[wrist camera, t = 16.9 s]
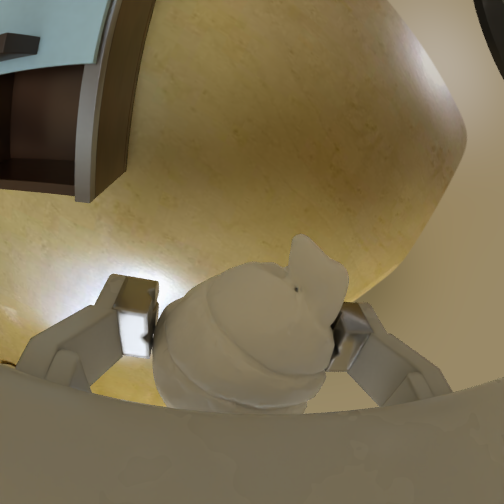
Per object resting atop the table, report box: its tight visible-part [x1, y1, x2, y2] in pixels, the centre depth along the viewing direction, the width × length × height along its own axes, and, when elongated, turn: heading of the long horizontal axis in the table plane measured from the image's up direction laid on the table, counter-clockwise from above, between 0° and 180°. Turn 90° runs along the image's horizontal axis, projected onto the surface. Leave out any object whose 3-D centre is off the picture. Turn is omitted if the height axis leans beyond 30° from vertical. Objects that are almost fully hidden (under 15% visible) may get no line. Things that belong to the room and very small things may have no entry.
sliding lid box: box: [0, 0, 156, 203], centre depth 14 cm, size 20×14×8 cm
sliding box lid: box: [0, 0, 111, 75], centre depth 7 cm, size 10×14×4 cm
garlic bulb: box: [152, 234, 349, 414], centre depth 9 cm, size 6×6×5 cm
